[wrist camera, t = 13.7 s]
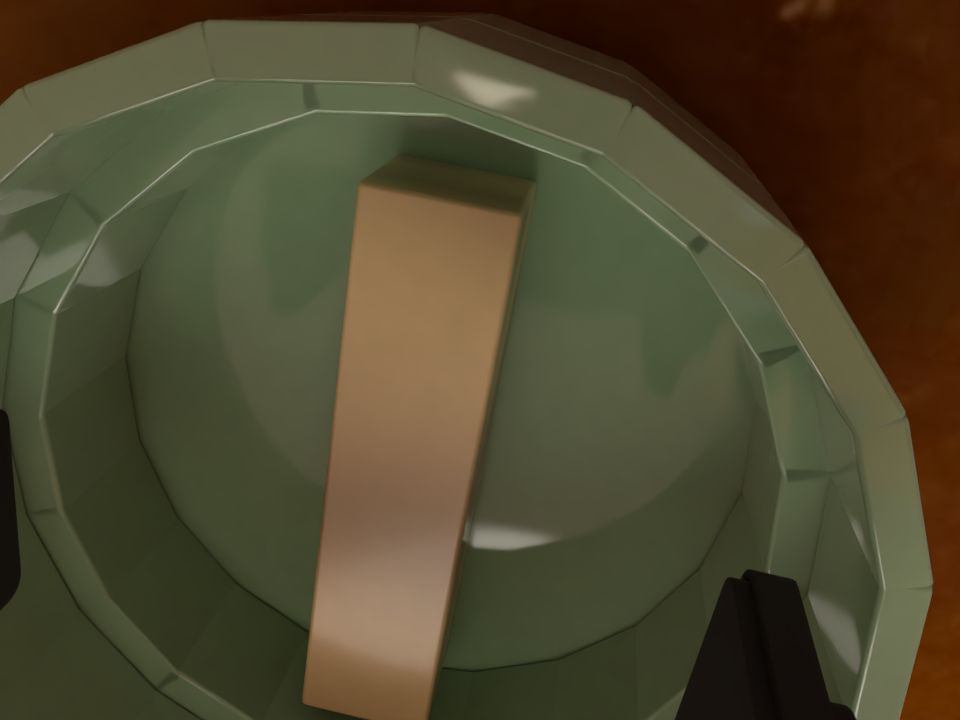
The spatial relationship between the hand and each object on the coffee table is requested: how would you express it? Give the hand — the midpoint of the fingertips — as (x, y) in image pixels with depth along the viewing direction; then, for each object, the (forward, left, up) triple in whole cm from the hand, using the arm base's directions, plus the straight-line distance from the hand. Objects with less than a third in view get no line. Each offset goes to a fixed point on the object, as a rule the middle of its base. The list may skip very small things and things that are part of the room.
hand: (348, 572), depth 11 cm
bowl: (0, 0, -6) cm, 6 cm away
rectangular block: (+1, +1, -5) cm, 6 cm away
